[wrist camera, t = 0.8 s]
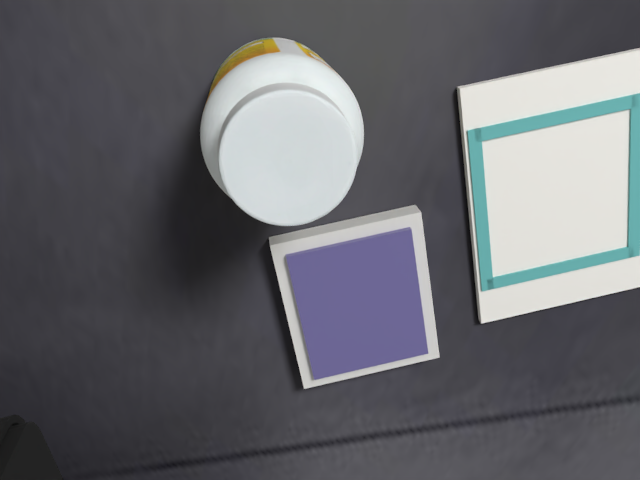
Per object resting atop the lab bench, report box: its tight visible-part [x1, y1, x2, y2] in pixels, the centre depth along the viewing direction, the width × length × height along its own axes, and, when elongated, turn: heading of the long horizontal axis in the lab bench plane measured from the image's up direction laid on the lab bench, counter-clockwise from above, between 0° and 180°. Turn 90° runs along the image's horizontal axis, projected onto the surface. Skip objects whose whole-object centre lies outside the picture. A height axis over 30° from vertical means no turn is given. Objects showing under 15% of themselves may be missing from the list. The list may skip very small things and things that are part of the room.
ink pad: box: [269, 205, 439, 389], centre depth 30 cm, size 8×7×1 cm
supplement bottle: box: [200, 38, 364, 226], centre depth 22 cm, size 5×5×10 cm
